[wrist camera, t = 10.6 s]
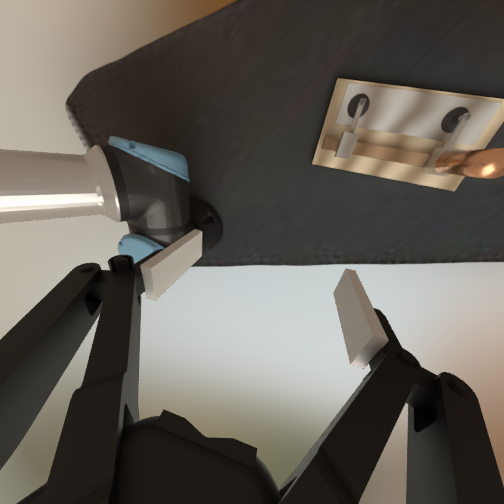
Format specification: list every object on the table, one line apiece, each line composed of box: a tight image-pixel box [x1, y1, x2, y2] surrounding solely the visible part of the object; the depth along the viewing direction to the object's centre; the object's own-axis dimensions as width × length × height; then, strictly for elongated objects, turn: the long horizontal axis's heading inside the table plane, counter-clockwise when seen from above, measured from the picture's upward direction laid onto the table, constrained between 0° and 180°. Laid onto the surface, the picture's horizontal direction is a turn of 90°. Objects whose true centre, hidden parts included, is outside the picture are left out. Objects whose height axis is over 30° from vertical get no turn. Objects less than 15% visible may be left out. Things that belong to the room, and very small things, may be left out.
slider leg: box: [421, 113, 504, 179], centre depth 27 cm, size 3×9×13 cm, turn 171°
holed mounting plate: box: [312, 78, 504, 191], centre depth 33 cm, size 28×14×5 cm, turn 81°
